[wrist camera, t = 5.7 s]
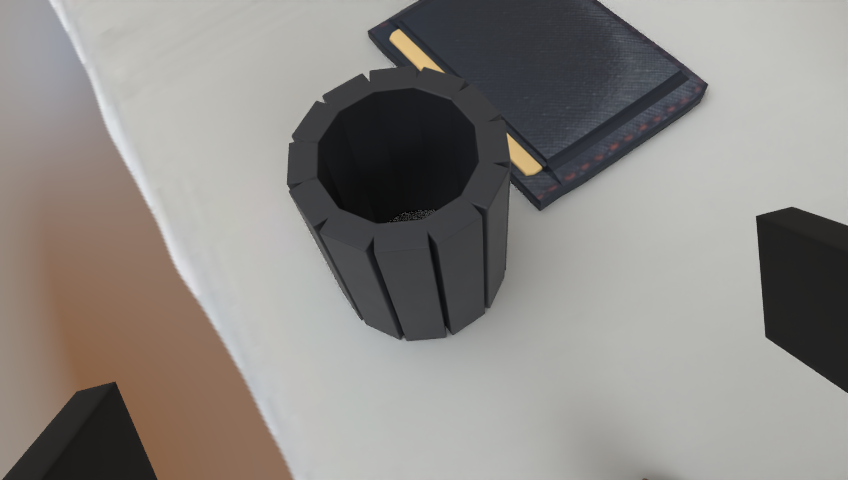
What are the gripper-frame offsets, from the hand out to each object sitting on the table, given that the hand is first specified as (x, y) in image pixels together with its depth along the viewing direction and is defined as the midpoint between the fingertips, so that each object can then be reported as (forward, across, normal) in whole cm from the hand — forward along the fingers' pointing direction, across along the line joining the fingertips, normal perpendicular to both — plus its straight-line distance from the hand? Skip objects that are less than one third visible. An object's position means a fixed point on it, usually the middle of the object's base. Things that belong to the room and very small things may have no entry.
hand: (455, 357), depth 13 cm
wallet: (+34, +11, +3) cm, 36 cm away
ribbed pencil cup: (+25, 0, -6) cm, 26 cm away
